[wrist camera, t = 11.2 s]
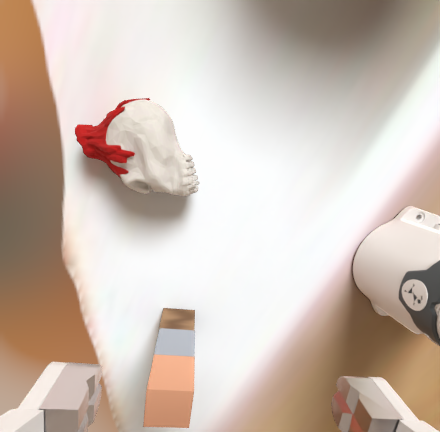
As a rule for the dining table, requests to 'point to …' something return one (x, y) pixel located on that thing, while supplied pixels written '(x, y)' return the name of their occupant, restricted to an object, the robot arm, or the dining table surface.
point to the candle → (141, 148)
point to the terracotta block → (170, 392)
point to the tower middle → (175, 342)
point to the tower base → (177, 319)
